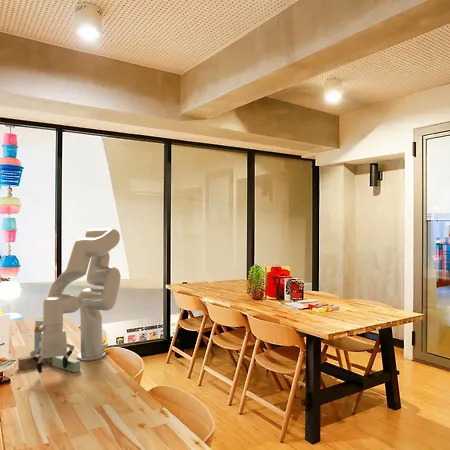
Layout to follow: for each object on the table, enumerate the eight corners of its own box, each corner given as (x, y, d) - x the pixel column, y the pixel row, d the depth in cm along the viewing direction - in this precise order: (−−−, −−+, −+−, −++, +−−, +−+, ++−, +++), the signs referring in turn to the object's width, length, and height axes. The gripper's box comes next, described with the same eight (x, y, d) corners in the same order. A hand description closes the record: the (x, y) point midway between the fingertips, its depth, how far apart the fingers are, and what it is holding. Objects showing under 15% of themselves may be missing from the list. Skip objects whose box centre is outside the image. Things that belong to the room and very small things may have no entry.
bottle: (45, 347, 207) (45, 317, 207) (52, 349, 202) (52, 319, 202) (31, 350, 202) (31, 319, 201) (38, 353, 197) (38, 322, 197)
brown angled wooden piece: (58, 352, 199) (58, 341, 199) (76, 355, 194) (76, 344, 194) (15, 369, 176) (15, 357, 176) (34, 372, 172) (34, 360, 172)
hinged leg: (51, 365, 180) (50, 354, 180) (57, 363, 182) (57, 352, 182) (74, 372, 171) (74, 361, 171) (80, 370, 174) (80, 359, 174)
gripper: (32, 332, 161) (31, 376, 161) (77, 326, 172) (76, 368, 171) (28, 329, 167) (27, 371, 167) (71, 323, 178) (71, 363, 177)
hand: (52, 369), depth 169 cm, fingers open, 9 cm apart
